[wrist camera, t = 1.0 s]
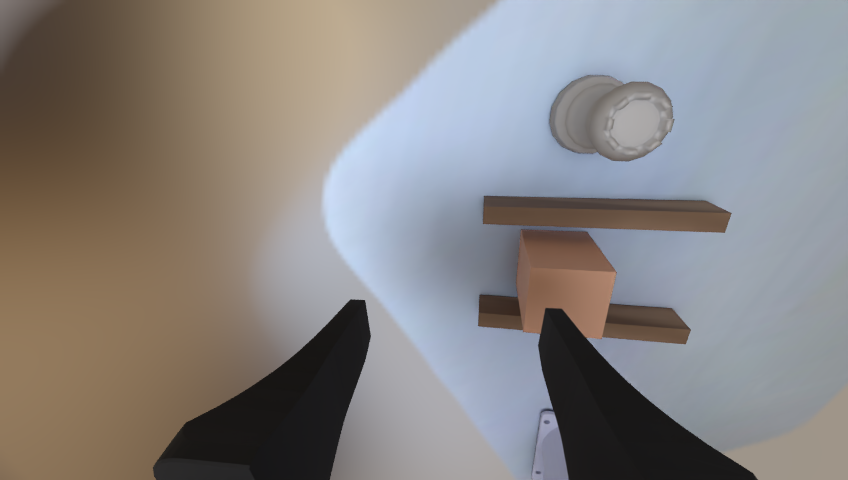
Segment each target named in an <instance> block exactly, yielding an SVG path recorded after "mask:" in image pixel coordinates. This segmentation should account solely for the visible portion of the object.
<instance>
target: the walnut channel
mask: <svg viewBox="0 0 848 480" xmlns="http://www.w3.org/2000/svg"><path fill="white" fill-rule="evenodd" d="M730 216H731V213H730V212H728V211H726V210H724V209H722V208H720V207H717V206H715V205H713V204H711V203H709V202H707V201H687V200H642V199H597V198H552V197H507V196H484V211H483V224H499V225H527V226H554V227H582V228H610V229H638V230H666V231H693V232H721V233H725V230H726V228H727V225H728V222H729V219H730ZM478 326H481V327H493V328H504V329H516V330H523V326H522V320H521V313H520V306H519V300H518V298H517V297H503V296H489V295H480V297H479V320H478ZM690 331H691V330H690V328H689V327H688V326H687V325H686V324H685V323H684V322H683V320H682V319H681V318H680V317H679V316H678V315H677V314H676V312H675V311H674V310H673V309H672V308H658V307H644V306H630V305H616V304H609V308H608V313H607V317H606V321H605V326H604V330H603V335H602V337H608V338H619V339H631V340H642V341H654V342H665V343H677V344H686V342H687V339H688V336H689V334H690Z"/></svg>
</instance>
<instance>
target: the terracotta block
mask: <svg viewBox="0 0 848 480" xmlns="http://www.w3.org/2000/svg"><path fill="white" fill-rule="evenodd" d="M616 273H617V272H616V271H615V269H614V268H613V267H612V265H611V264H610V263H609V261H608V260H607V258H606V257H605V256H604V254H603V253H602V252H601V250H600V249H599V248H598V246H597V245H596V243H595V242H594V241H593V239H592V238H591V237H590V235H589V234H588V233H587V232H576V231H550V230H523V229H521V235H520V246H519V256H518V267H517V278H516V287H517V293H518V300H519V306H520V313H521V320H522V326H523V332H528V333H540V334H541V328H542V323H543V318H544V313H545V308H560V309H563V310H564V312H565V313H566V314H567V315H568V317H569V318H570V319H571V320H572V322H573V323H574V324H575V325H576V327H577V328H578V329H579V330H580V331H581V333H582V334H583V335H584V336H585V337H586V338H597V339H602V335H603V330H604V326H605V321H606V317H607V313H608V308H609V304H610V299H611V295H612V290H613V286H614V282H615V277H616Z"/></svg>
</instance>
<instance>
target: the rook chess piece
mask: <svg viewBox="0 0 848 480" xmlns="http://www.w3.org/2000/svg"><path fill="white" fill-rule="evenodd" d="M672 107H673V106H672V104H671V100H670V99H669V97H668V96H667V95H666V93H665V92H664V90H663V89H662V88H660V87H658V86H656V85H654V84H651V83H649V82H629V83H627V84H623V83H622V82H621V81H618V80H616V79H614V78H612V77H610V76H604V75H588V76H585V77H583V78H580V79H578V80H575V81H573V82H571V83H570V84H569V85H568V86H567V87H566V88H565V89H564V90H562V91H561V92H560V93H559V95H558V97H557V99H556V101H555V102H554V104H553V106H552V109H551V116H550V126H551V130H552V134H553V136H554V138H555V139H556V140H557V141H558V142H559V144H560V145H561V146H562V147H564V148H566V149H569V150H571V151H573V152H577V153H590V154H593V153H596V152H598V153H599V154H600V155H602V156H604V157H606V158H608V159H610V160H612V161H631V160H634V159H637V158H640V157H644V156H645V155H647V154H648V153H649V152H651V151H653V150H654V149H656V148H657V147H658V146H660V145H661V144H662V143H661V142H662V140H663V139H664V138H665V136H666V135H667V133H668V132H671V129H672V126H673V123H674V119H672V118H673V112H672Z"/></svg>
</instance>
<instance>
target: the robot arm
mask: <svg viewBox="0 0 848 480" xmlns="http://www.w3.org/2000/svg"><path fill="white" fill-rule="evenodd" d="M370 337H371V335H370V328H369V323H368V316H367V310H366V303H365V300H350V301H349V302H348V303H347V304H346V305H345V306H344V307H343V308H342V309H341V310H340V311H339V312H338V314H336V315H335V317H334V318H333V319H332V320H331V321H330V322H329V323H328V324H327V325H326V326H325V327H324V328H323V329H322V330H321V331H320V332H319V333H318V334H317V335H316V336H315V337H314V338H313V339H312V340H311V341H309V343H307V344H306V345H305V346H304V347H303V348H302V349H301V350H300V351H299V352H297V353H296V354H295V355H294V356H293V357H291V358H290V359H289V360H288V361H286V362H285V363H284V364H283V365H281V366H280V367H279V368H277V369H276V370H275V371H274V372H272V373H271V374H269V375H268V376H266V377H265V378H263V379H262V380H260V381H259V382H257V383H256V384H255V385H253V386H252V387H250V388H248V389H247V390H245V391H244V392H242V393H240V394H239V395H237V396H235V397H234V398H232V399H230V400H228V401H227V402H225V403H223V404H221V405H220V406H218V407H216V408H214V409H212V410H210V411H208V412H206V413H204V414H202V415H200V416H198V417H196V418H194V419H193V420H191V421H188V422H186V423H185V424H184V426H183V427H182V428H181V429H180V431H179V432H178V433H177V435H176V436H175V437H174V439H173V440H172V441H171V443H170V444H169V446H168V447H167V448H166V450H165V451H164V452H163V454H162V455H161V457H160V458H159V459H158V460H157V462H156V463H155V465H154V467H153V471H154V477H155V478H156V480H330V476H331V471H332V467H333V463H334V459H335V454H336V450H337V446H338V442H339V438H340V434H341V430H342V426H343V422H344V419H345V416H346V413H347V410H348V407H349V404H350V401H351V399H352V396H353V393H354V390H355V388H356V385H357V382H358V379H359V377H360V374H361V371H362V368H363V365H364V362H365V359H366V355H367V351H368V347H369V342H370ZM538 347H539V354H540V360H541V366H542V371H543V375H544V379H545V382H546V386H547V389H548V393H549V396H550V400H551V403H552V407H553V410H554V412H552V411H543V412H542V413H541V418H540V424H539V431H538V437H537V444H536V450H535V457H534V463H533V470H532V480H758V479H757V478H756V477H755V476H754V474H753V473H752V472H750V471H749V470H747V469H745V468H744V467H742V466H741V465H739V464H738V463H736V462H734V461H733V460H731V459H730V458H728V457H726V456H725V455H723V454H722V453H720V452H719V451H717V450H715V449H714V448H712V447H711V446H709V445H708V444H706V443H705V442H704V441H702V440H701V439H699V438H698V437H696V436H695V435H694V434H692V433H691V432H689V431H688V430H686V429H685V428H684V427H682V426H681V425H680V424H678V423H677V422H675V421H674V420H673V419H671V418H670V417H669V416H668V415H666V414H665V413H664V412H663V411H661V410H660V409H659V408H658V407H656V406H655V405H654V404H652V403H651V402H650V401H649V400H648V399H646V398H645V397H644V396H643V395H642V394H641V393H640V392H638V391H637V390H636V389H635V388H634V387H633V386H632V385H631V384H629V383H628V382H627V381H626V380H625V379H624V378H623V377H622V376H621V375H620V374H619V373H618V372H617V371H616V370H615V369H614V368H613V367H612V366H611V365H610V364H609V363H608V362H607V361H606V360H605V359H604V358H603V357H602V356H601V354H600V353H599V352H598V351H597V350H596V349H595V348H594V347H593V345H592V344H591V343H590V342H589V341H588V340H587V339H586V337H585V336H584V335H583V334H582V333H581V331H580V330H579V329H578V328H577V327H576V325H575V324H574V323H573V322H572V320H571V319H570V318H569V317H568V315H567V314H566V313H565V312H564V310H563V309H560V308H545V313H544V318H543V323H542V328H541V334H540V339H539V344H538Z"/></svg>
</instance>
